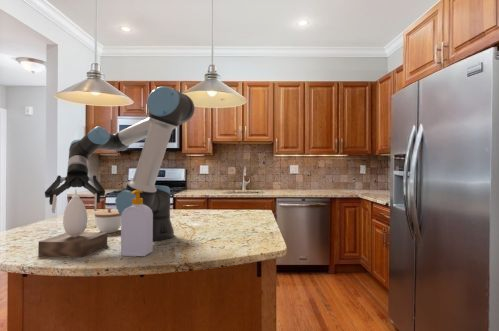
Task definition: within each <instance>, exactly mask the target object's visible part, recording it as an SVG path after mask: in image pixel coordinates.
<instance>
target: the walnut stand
mask: <svg viewBox="0 0 499 331" xmlns="http://www.w3.org/2000/svg"><path fill="white" fill-rule="evenodd" d="M106 246H108V233H102V232H93V231H84V232H83V233H81V235H80V236H78V237H72V236H70V235H69V234H67V233H66V232H64V233H61V234H58V235H56V236H51V237H48V238H46V239H42V240H39V241H38V249H37V250H38V254H37V255H38V257H59V256H70V257H69V258H83V256H84V257H86V256H88V255H89V254H92V253H94V252H96V251H98V250H100V249H102V248H104V247H106Z"/></svg>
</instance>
